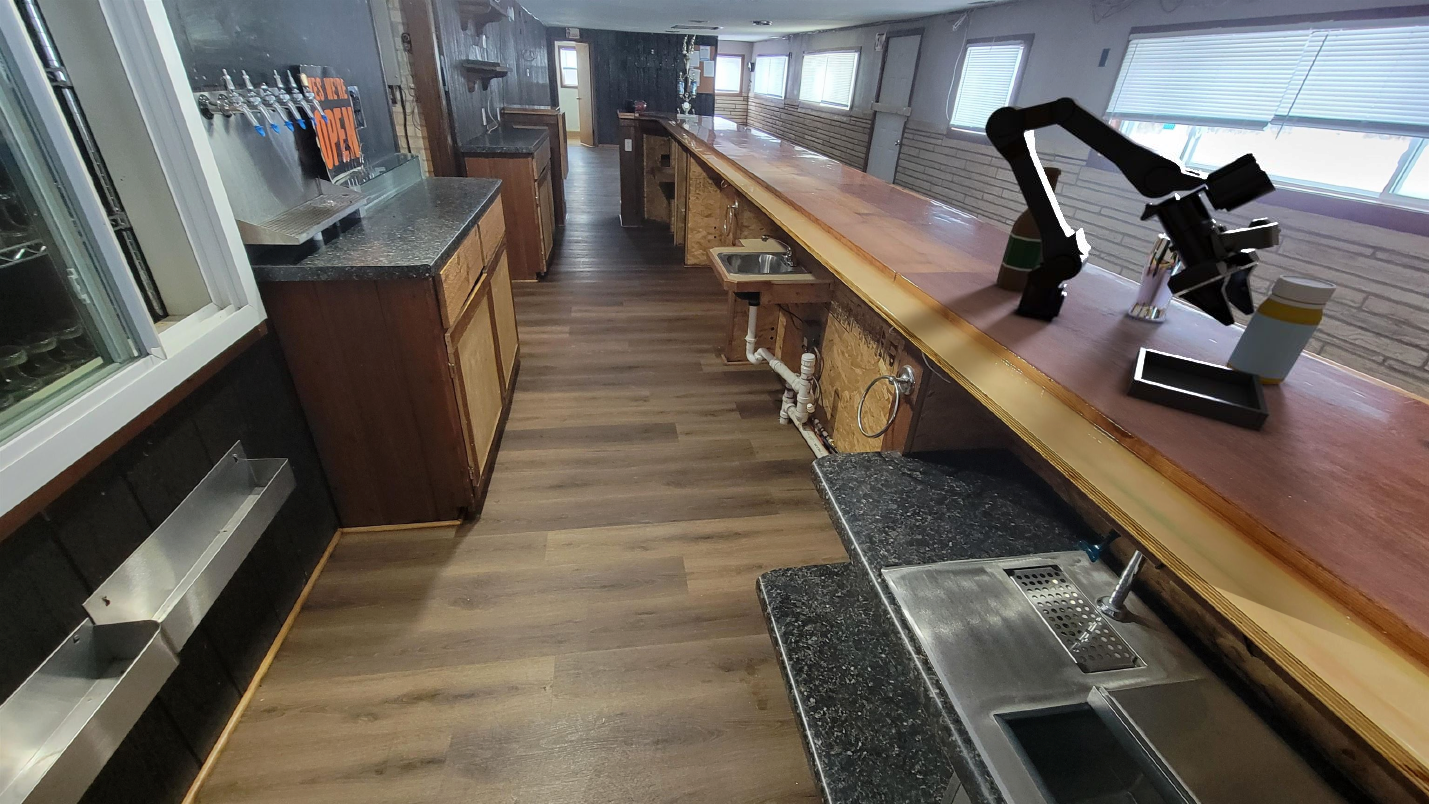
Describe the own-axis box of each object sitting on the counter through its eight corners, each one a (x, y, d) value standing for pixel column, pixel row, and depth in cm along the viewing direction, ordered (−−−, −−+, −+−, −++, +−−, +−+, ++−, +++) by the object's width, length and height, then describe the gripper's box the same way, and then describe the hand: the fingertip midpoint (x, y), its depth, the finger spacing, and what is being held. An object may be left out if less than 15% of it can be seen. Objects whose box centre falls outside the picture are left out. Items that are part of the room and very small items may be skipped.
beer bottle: (1036, 285, 123) (1075, 168, 111) (1032, 295, 117) (1073, 172, 105) (998, 278, 127) (1032, 164, 115) (992, 287, 121) (1027, 167, 109)
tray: (1126, 395, 79) (1133, 379, 78) (1133, 361, 90) (1140, 347, 89) (1259, 431, 72) (1269, 414, 71) (1250, 390, 82) (1259, 375, 81)
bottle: (1255, 366, 90) (1308, 274, 83) (1294, 387, 84) (1356, 290, 77) (1212, 364, 90) (1262, 272, 82) (1249, 385, 84) (1306, 288, 76)
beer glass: (1153, 311, 111) (1188, 234, 104) (1175, 324, 105) (1213, 244, 98) (1117, 309, 112) (1149, 232, 104) (1136, 321, 106) (1171, 241, 98)
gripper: (1233, 204, 77) (1292, 306, 75) (1274, 195, 86) (1327, 285, 84) (1145, 247, 86) (1194, 339, 84) (1191, 235, 96) (1236, 317, 94)
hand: (1241, 319), depth 86 cm, fingers open, 9 cm apart
